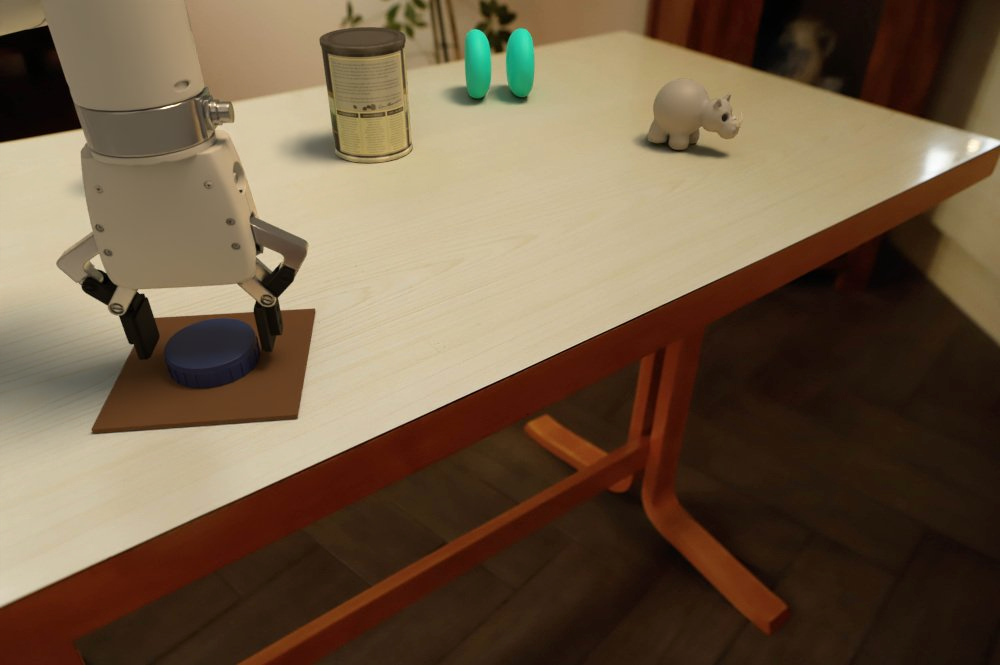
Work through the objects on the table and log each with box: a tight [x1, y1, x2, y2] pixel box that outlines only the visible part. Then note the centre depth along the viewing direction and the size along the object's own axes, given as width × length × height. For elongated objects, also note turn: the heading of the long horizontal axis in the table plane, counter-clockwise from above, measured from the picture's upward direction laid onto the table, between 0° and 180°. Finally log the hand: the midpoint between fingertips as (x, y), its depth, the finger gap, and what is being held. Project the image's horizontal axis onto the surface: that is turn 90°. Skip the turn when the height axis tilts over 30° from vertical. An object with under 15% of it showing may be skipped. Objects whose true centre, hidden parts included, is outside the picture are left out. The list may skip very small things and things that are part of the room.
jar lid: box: [164, 318, 261, 388], centre depth 56 cm, size 7×7×2 cm
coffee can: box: [318, 26, 414, 164], centre depth 91 cm, size 10×10×14 cm
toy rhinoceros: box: [647, 77, 744, 151], centre depth 94 cm, size 7×12×8 cm, turn 51°
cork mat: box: [90, 308, 317, 434], centre depth 56 cm, size 14×14×1 cm
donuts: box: [464, 27, 535, 99], centre depth 111 cm, size 10×10×10 cm
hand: (210, 344), depth 55 cm, fingers open, 8 cm apart
